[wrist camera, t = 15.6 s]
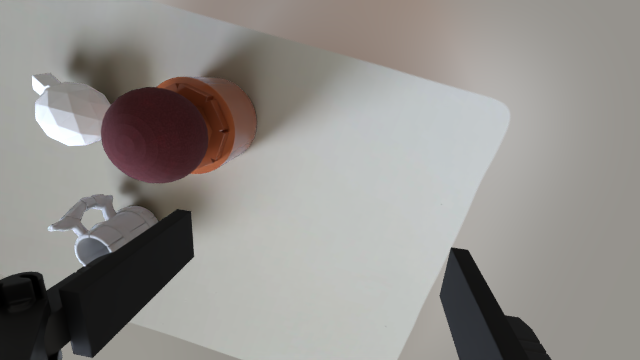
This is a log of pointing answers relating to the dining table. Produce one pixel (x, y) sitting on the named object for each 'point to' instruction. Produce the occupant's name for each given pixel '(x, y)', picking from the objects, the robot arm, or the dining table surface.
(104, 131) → the decorative ball
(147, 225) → the mug
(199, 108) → the pedestal
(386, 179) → the dining table surface
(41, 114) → the perfume bottle
